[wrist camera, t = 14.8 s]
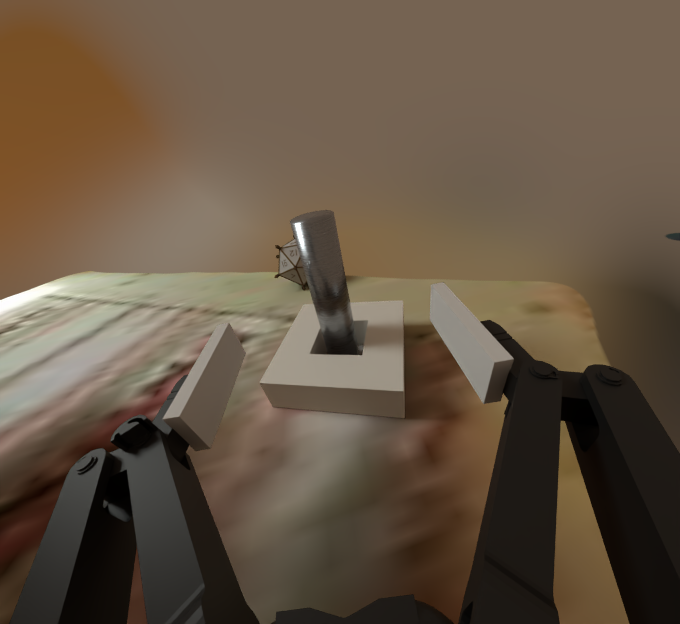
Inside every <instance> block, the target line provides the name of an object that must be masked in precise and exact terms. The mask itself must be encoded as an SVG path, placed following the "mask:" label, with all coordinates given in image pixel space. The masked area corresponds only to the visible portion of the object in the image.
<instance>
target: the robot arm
mask: <svg viewBox="0 0 680 624" xmlns="http://www.w3.org/2000/svg"><path fill="white" fill-rule="evenodd" d="M430 321H431V322H432V324H433V325H434V327H435V328H436V330H437V332H438V333H439V335H440V336H441V338H442V339H443V341H444V342H445V344H446V346H447V347H448V349H449V350H450V352H451V353H452V355H453V357H454V358H455V360H456V361H457V363H458V364H459V366H460V368H461V369H462V371H463V372H464V374H465V375H466V377H467V379H468V380H469V382H470V383H471V385H472V386H473V388H474V390H475V391H476V393H477V394H478V396H479V397H480V399H481V401H482V402H483V404H486V403H492V402H498V401H501V398H502V395H503V393H504V395H505V396H506V397H507V399H508V400H509V401H508V404H507V407H506V410H505V413H504V414H505V418H504V423H503V427H502V432H501V437H500V441H499V446H498V450H497V455H496V459H495V464H494V469H493V473H492V478H491V482H490V487H489V492H488V496H487V501H486V505H485V510H484V515H483V519H482V524H481V528H480V533H479V538H478V542H477V547H476V551H475V556H474V561H473V565H472V570H471V574H470V577H469V581H468V584H467V588H466V591H465V596H464V600H463V604H462V609H461V613H460V618H459V622H458V624H560V623H559V616H558V611H557V609H556V606H555V603H554V599H553V579H554V557H555V535H556V512H557V490H558V468H559V445H560V423H561V421H565V423H566V426H567V429H568V432H569V435H570V438H571V442H572V445H573V448H574V451H575V454H576V457H577V460H578V463H579V467H580V470H581V473H582V476H583V479H584V482H585V485H586V489H587V492H588V495H589V498H590V501H591V504H592V507H593V510H594V514H595V517H596V520H597V523H598V526H599V529H600V532H601V536H602V539H603V542H604V545H605V548H606V551H607V554H608V557H609V561H610V564H611V567H612V570H613V573H614V576H615V579H616V583H617V586H618V589H619V592H620V595H621V598H622V601H623V604H624V608H625V611H626V614H627V617H628V620H629V623H630V624H680V453H679V452H678V450H677V448H676V447H675V445H674V444H673V442H672V441H671V439H670V437H669V436H668V435H667V433H666V431H665V430H664V428H663V426H662V425H661V423H660V421H659V420H658V418H657V417H656V415H655V414H654V412H653V410H652V409H651V407H650V406H649V404H648V402H647V401H646V399H645V398H644V396H643V394H642V393H641V391H640V390H639V388H638V386H637V385H636V383H635V382H634V381H633V380H632V378H631V377H630V376H629V375H627V374H625V373H624V372H622V371H621V370H618V369H616V368H613V367H610V366H606V365H591V366H588V367H587V368H586V369H585V371H584V373H579V372H566V371H558V370H557V369H556V368H555V367H553V366H552V365H550V364H548V363H545V362H542V361H536V360H534V359H533V358H532V357H531V356H530V355H529V354H528V353H527V352H526V351H525V350H524V349H523V348H522V347H521V346H520V345H519V344H518V343H517V342H516V341H515V340H514V339H512V337H511V336H510V335H509V334H508V333H507V332H506V331H505V330H504V329H503V328H502V327H501V326H500V325H498V324H496V323H495V322H493V321H491V320H487V321H481V322H480V321H479V320H478V319H477V318H476V317H475V316H474V315H473V314H472V313H471V312H470V310H469V309H468V308H467V307H466V306H465V305H464V304H463V303H462V302H461V301H460V300H459V298H458V297H457V296H456V295H455V294H454V293H453V292H452V291H451V290H450V289H449V288H448V287H447V285H446V284H445V283H444V282H442V283H436V284H431V303H430ZM245 354H246V352H245V351H244V349H243V347H242V345H241V343H240V342H239V340H238V338H237V336H236V334H235V333H234V331H233V329H232V327H231V325H230V324H229V323H225V324H220V325H217V327H216V329H215V330H214V332H213V334H212V335H211V337H210V339H209V341H208V342H207V344H206V346H205V347H204V349H203V351H202V352H201V354H200V356H199V358H198V359H197V361H196V363H195V364H194V366H193V368H192V369H191V371H190V373H189V375H184V376H183V377H182V378H181V379H180V380H179V381H178V382H177V383H176V385H175V386H174V388H173V389H172V391H171V394H169V396H168V398H167V401H165V402H164V404H163V406H162V407H161V409H160V410H159V412H158V414H157V415H156V417H155V419H154V420H153V422H151V421H150V420H149V419H148V418H147V417H146V416H145V415H138V416H134V417H132V418H130V419H128V420H127V421H126V422H124V423H123V424H122V425H120V426H119V427H118V429H117V430H116V431H115V432H114V434H113V435H112V437H111V442H112V443H113V444H114V445H116V446H117V447H119V449H117V450H115V451H113V452H110V453H109V452H107V451H106V450H104V449H103V448H98V449H95V450H93V451H91V452H89V453H87V454H86V455H84V456H83V457H82V458H81V459H79V460H78V461H77V462H76V463H75V464H74V465H73V467H72V468H71V469H70V471H69V473H68V474H67V477H66V480H65V482H64V485H63V487H62V490H61V492H60V495H59V497H58V500H57V503H56V505H55V508H54V510H53V513H52V515H51V518H50V521H49V523H48V526H47V528H46V531H45V533H44V536H43V538H42V541H41V544H40V546H39V549H38V551H37V554H36V556H35V559H34V562H33V564H32V567H31V569H30V572H29V574H28V577H27V579H26V582H25V585H24V587H23V590H22V592H21V595H20V597H19V600H18V603H17V605H16V608H15V610H14V613H13V615H12V618H11V620H10V623H9V624H127V617H128V609H129V601H130V593H131V585H132V577H133V570H134V562H135V554H136V546H137V549H138V557H139V564H140V571H141V579H142V586H143V594H144V601H145V609H146V616H147V623H148V624H259V621H258V619H257V618H256V616H255V614H254V613H253V611H252V610H251V609H250V607H249V606H248V605H247V603H246V601H245V599H244V597H243V594H242V592H241V589H240V587H239V584H238V581H237V579H236V576H235V574H234V571H233V568H232V566H231V563H230V561H229V558H228V555H227V553H226V550H225V548H224V545H223V542H222V540H221V537H220V535H219V532H218V529H217V527H216V524H215V522H214V519H213V516H212V514H211V511H210V509H209V506H208V504H207V501H206V498H205V496H204V493H203V491H202V488H201V485H200V483H199V480H198V478H197V475H196V472H195V470H194V467H193V465H192V462H191V459H190V457H189V455H188V454H187V453H186V451H187V449H188V447H189V445H190V446H191V447H192V448H193V449H194V450H195V451H199V450H205V449H211V446H212V444H213V441H214V438H215V435H216V433H217V430H218V427H219V425H220V422H221V419H222V416H223V414H224V411H225V408H226V406H227V403H228V400H229V397H230V395H231V392H232V389H233V387H234V384H235V381H236V378H237V376H238V373H239V370H240V368H241V365H242V362H243V359H244V357H245ZM272 624H454V623H453V622H452V621H451V620H450V619H448V618H447V617H446V616H445V615H444V614H443V613H441V612H440V611H438V610H437V609H435V608H434V607H432V606H430V605H428V604H426V603H423V602H420V601H416V600H415V599H414V594H412V595H404V596H396V597H389V598H381V599H378V600H376V601H374V602H373V603H371V604H369V605H368V606H366V607H364V608H362V609H361V610H359V611H357V612H355V613H354V614H352V615H350V616H348V617H346V618H342V617H338V616H335V615H332V614H328V613H325V612H322V611H319V610H315V609H312V608H303V609H295V610H288V611H280V612H277V613H276V621H274V622H273V623H272Z"/></svg>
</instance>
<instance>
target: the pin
mask: <svg viewBox="0 0 680 624" xmlns="http://www.w3.org/2000/svg"><path fill="white" fill-rule="evenodd" d="M290 223H291V227H292V230H293V234H294V237H295V241H296V244H297V248H298V251H299V255H300V258H301V262H302V265H303V269H304V272H305V276H306V279H307V283H308V286H309V290H310V293H311V297H312V300H313V304H314V307H315V311H316V314H317V318H318V321H319V325H320V328H321V332H322V335H323V339H324V342H325V346H326V349H327V353H328V355H360V354H359V348H358V343H357V337H356V332H355V326H354V321H353V316H352V310H351V305H350V299H349V294H348V288H347V283H346V277H345V272H344V267H343V261H342V255H341V250H340V245H339V239H338V234H337V228H336V223H335V218H334V212H333V211H329V210H323V211H315V212H310V213H306V214H303V215H300V216H297V217H295V218H293V219H292V220H291V221H290Z"/></svg>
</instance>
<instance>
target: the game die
mask: <svg viewBox="0 0 680 624" xmlns="http://www.w3.org/2000/svg"><path fill="white" fill-rule="evenodd" d="M293 237H294V235H293ZM276 248H277V249H279V255H277V256H276V257H277V258H279V273H278V274H277V275H275V278H278V277H279V276H281V277H284V278H286V279H288V280H291V281H293V282H295V283H298V284H300V285H302V289H303V290H305V286H304V285H305V284H306V283H307V279H306V276H305V272H304V269H303V265H302V262H301V258H300V255H299V251H298V248H297V244H296V241H295V237H294V239H293V240H292V241H290V242H288V243H287V244H285V245H284V246H283V247H281V248H280V247H279V246H278V245H276Z"/></svg>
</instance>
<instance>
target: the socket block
mask: <svg viewBox="0 0 680 624" xmlns="http://www.w3.org/2000/svg"><path fill="white" fill-rule="evenodd" d="M350 305H351V310H352V316H353V321H354V326H355V332H356V337H357V343H358V345H364V348H363V354H362V355H326V353H327V349H326V346H325V342H324V339H323V335H322V332H321V328H320V325H319V321H318V318H317V314H316V311H315V307H314V304H304V305H303V306H302V308H301V310H300V312H299V314H298V315H297V317H296V319H295V321H294V322H293V324H292V326H291V328H290V329H289V331H288V333H287V335H286V337H285V338H284V340H283V342H282V344H281V345H280V347H279V349H278V351H277V352H276V354H275V356H274V358H273V359H272V361H271V363H270V365H269V367H268V368H267V370H266V372H265V374H264V375H263V377H262V379H261V381H260V382H259V383H260V385H261V387H262V389H263V390H264V392H265V394H266V396H267V397H268V399H269V401H270V403H271V404H272V406H273V407H280V408H292V409H303V410H315V411H326V412H337V413H349V414H360V415H372V416H383V417H394V418H405V386H404V316H403V301H378V302H352V303H350Z"/></svg>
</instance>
